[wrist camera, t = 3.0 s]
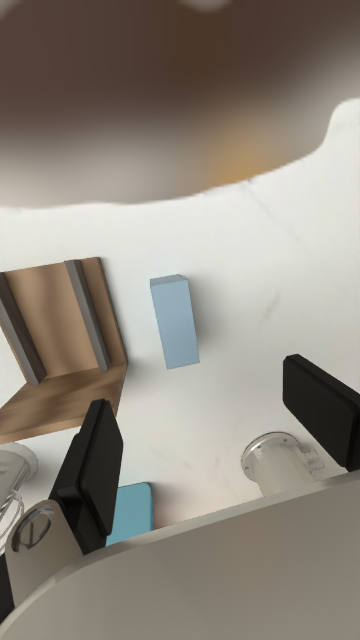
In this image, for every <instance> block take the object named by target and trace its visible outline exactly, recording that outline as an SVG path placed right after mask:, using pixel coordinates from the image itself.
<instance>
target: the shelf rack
mask: <svg viewBox="0 0 360 640" xmlns="http://www.w3.org/2000/svg"><path fill="white" fill-rule="evenodd" d="M0 326H1V328H2V330H3V333H4V335H5V337H6V339H7V341H8V343H9V345H10V347H11V350H12V352H13V354H14V356H15V358H16V360H17V362H18V364H19V367H20V369H21V371H22V373H23V375H24V377H25V379H26V381H27V383H26V384H25V385H24V386H23V387H22V388H21V389H20V390H19V391H18V392H17V393H16V394H15V395H14V396H13V397H12V398H11V399H10V400H9V401H8V402H7V403H6V404H5V405H4V406H3V407H2V408H1V409H0V445H1V444H5V443H10V442H14V441H18V440H22V439H27V438H31V437H35V436H39V435H44V434H48V433H52V432H57V431H61V430H65V429H69V428H74V427H78V426H82V424H83V421H84V419H85V416H86V414H87V411H88V409H89V406H90V404H91V402H92V401H93V400H97V399H102V398H105V400H106V401H107V400H109V401H110V404H111V407H112V410H113V413H114V416H115V418H116V415H117V411H118V406H119V402H120V397H121V392H122V388H123V383H124V379H125V374H126V370H127V365H128V361H127V357H126V353H125V350H124V346H123V342H122V339H121V335H120V331H119V328H118V324H117V321H116V317H115V313H114V310H113V306H112V302H111V299H110V295H109V291H108V288H107V284H106V281H105V277H104V273H103V270H102V266H101V262H100V259H99V257H92V258H86V259H80V260H68V261H64V262H62V263H56V264H50V265H44V266H38V267H32V268H26V269H20V270H14V271H8V272H0Z"/></svg>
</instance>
